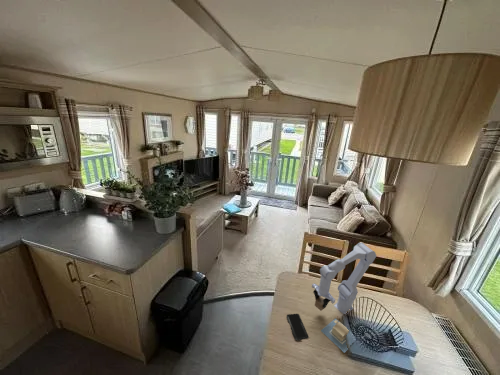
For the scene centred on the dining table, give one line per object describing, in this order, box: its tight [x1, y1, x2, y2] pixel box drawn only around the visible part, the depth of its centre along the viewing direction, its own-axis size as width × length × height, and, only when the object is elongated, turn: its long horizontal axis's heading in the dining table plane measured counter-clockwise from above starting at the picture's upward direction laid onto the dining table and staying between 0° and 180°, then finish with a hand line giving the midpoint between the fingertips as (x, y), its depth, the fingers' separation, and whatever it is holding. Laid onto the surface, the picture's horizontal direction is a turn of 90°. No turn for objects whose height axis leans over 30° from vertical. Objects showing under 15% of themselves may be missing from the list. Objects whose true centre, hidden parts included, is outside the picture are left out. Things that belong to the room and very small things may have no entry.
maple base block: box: [332, 321, 350, 342], centre depth 114 cm, size 6×6×4 cm
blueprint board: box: [320, 318, 349, 354], centre depth 115 cm, size 14×14×1 cm
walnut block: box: [314, 296, 327, 311], centre depth 125 cm, size 4×4×4 cm
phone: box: [286, 313, 310, 342], centre depth 118 cm, size 8×1×15 cm
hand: (320, 304), depth 125 cm, fingers closed on walnut block, 4 cm apart
